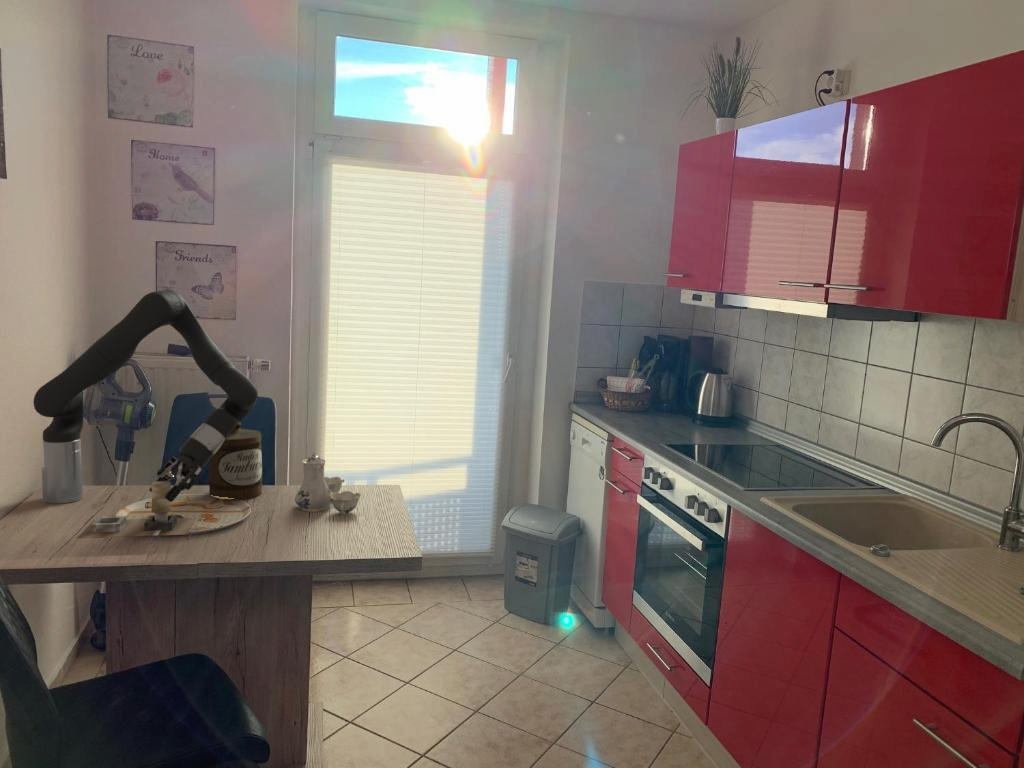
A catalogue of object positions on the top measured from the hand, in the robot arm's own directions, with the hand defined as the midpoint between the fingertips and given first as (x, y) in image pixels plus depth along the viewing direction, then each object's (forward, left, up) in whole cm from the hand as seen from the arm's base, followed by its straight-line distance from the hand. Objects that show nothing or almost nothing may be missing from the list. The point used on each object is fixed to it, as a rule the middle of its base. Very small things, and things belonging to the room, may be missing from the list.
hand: (159, 496), depth 203 cm
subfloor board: (-5, 0, -9) cm, 11 cm away
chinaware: (+40, +19, -10) cm, 45 cm away
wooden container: (+14, +35, -10) cm, 39 cm away
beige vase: (0, 0, -8) cm, 8 cm away
